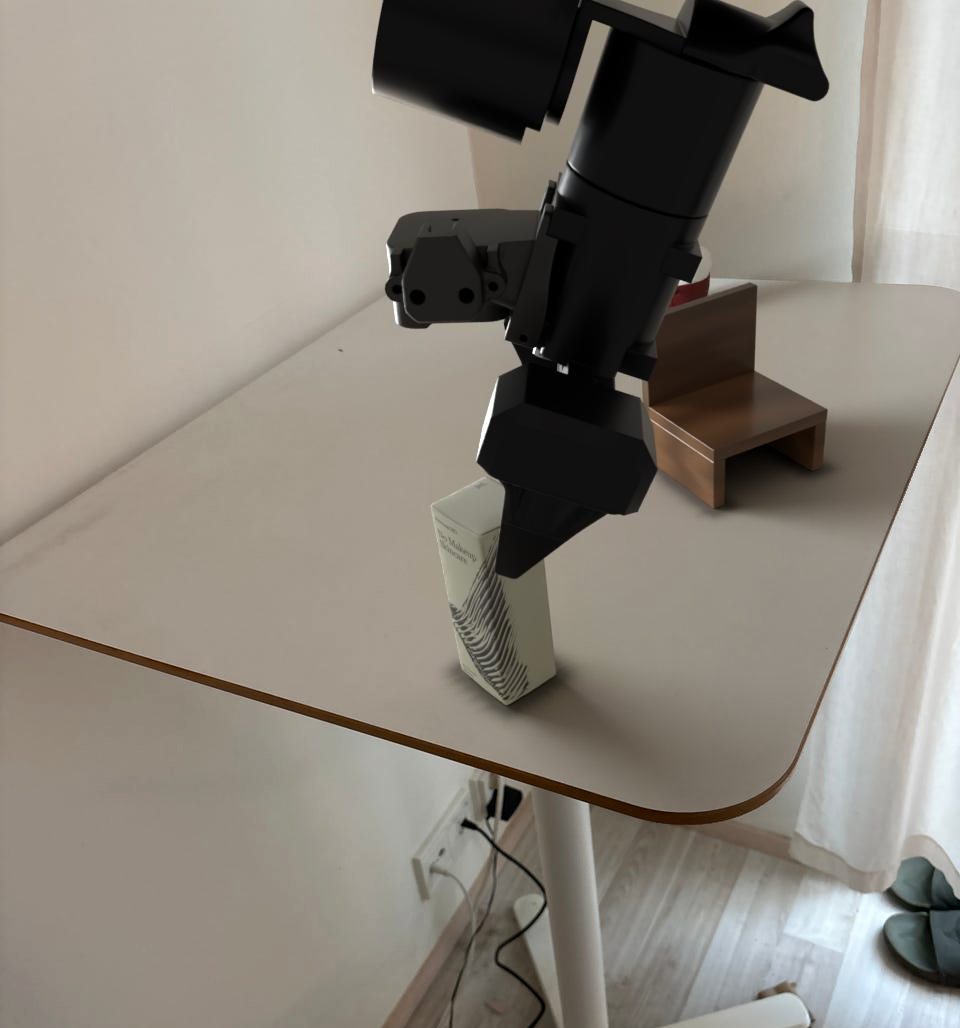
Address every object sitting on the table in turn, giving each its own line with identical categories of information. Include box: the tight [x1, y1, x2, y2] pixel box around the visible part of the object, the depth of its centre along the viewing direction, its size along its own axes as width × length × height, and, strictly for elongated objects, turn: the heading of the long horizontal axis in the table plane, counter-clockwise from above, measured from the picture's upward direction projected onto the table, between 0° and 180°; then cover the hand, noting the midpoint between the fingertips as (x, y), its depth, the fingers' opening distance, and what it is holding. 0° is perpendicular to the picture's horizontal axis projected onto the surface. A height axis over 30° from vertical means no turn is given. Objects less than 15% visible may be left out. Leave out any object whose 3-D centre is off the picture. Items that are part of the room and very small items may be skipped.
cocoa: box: [668, 245, 713, 309], centre depth 99 cm, size 10×6×12 cm, turn 135°
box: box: [430, 475, 557, 706], centre depth 57 cm, size 5×4×13 cm
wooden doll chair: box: [641, 281, 829, 509], centre depth 73 cm, size 10×10×12 cm
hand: (512, 518), depth 46 cm, fingers open, 9 cm apart
